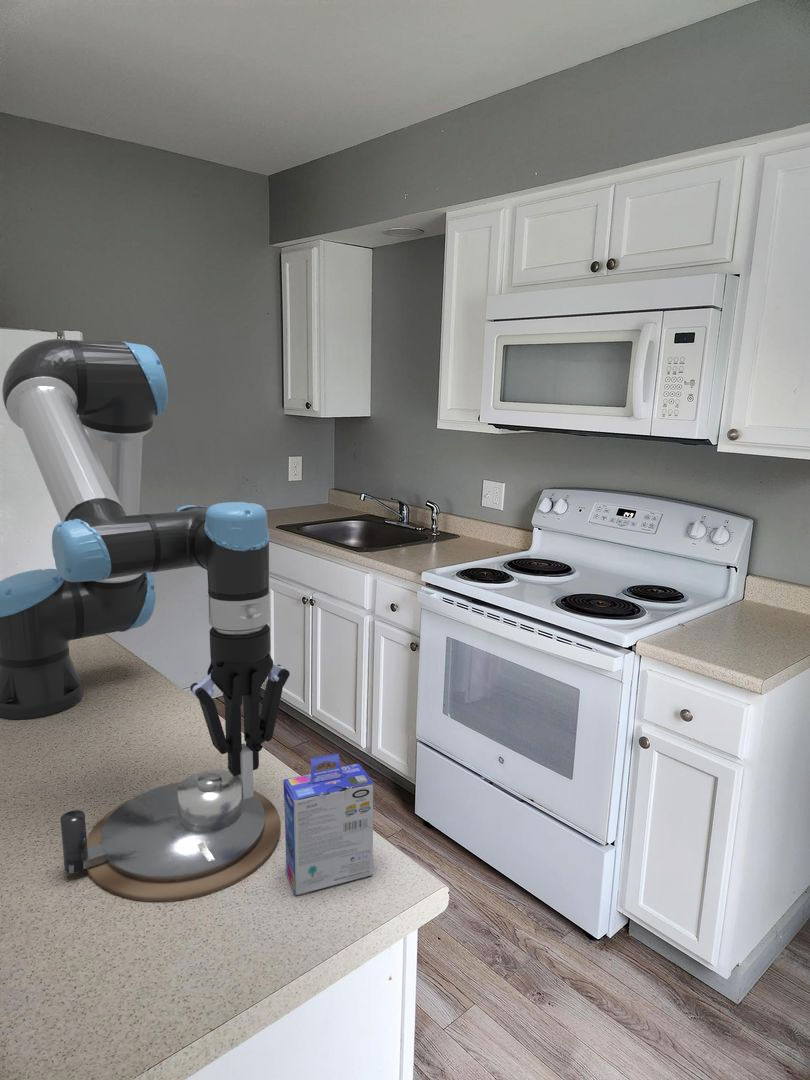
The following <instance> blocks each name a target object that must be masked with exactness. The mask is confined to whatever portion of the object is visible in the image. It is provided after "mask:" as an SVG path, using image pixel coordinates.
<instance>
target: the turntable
mask: <svg viewBox="0 0 810 1080" xmlns="http://www.w3.org/2000/svg"><path fill="white" fill-rule="evenodd" d="M181 782H182V781H180V782H173V783H169V784H164V785H162V786H161V785H160V786H157V787H156V788H155V787H154V788H152V789H149V790H146V791H144V792H142V793H140V794H138V795H136V796H133V797H132V798H130V799H128V800H129V801H128V800H126V801H127V802H126V801H125V802H126V803H124V802H123V803H124V804H123V803H122V804H123V805H121V804H120V805H121V806H120V807H119V808H118V809H117V810H115V811H114V812H113V813H112V814H111V816H110V817H109V818H108V819H107V821H106V822H105V824H104V826H103V829H102V832H101V844H99V845H95V846H92V847H89V848H87V837H88V834H87V825H86V823H87V822H86V814H85V812H84V811H83V810H80V809H73V810H71V811H67V812H65V813H62V815H61V816H60V831H61V841H62V852H63V853H62V854H63V865H64V866H63V867H64V871H65V872H66V873H69V874H76V873H80V872H83V871H84V870H86V868H89V867H92V866H95V865H98V864H101V863H104V862H107V863H108V864H109V866H110V867H111V868H113V869H114V870H116V871H117V872H119V873H121V874H123V875H125V876H127V877H130V878H133V879H137V880H142V881H150V882H177V881H184V880H191V879H195V878H199V877H203V876H206V875H209V874H212V873H215V872H218V871H220V870H222V869H225V868H227V867H228V866H230V865H232V864H234V863H236V862H237V861H239V860H240V859H242V858H243V857H244V856H246V855H247V854H248V853H249V852H250V851H251V850H252V849H253V848H254V847H255V846H256V845H257V843H258V842H259V841H260V839H261V837H262V835H263V832H264V828H265V812H264V807H263V805H262V803H261V801H260V800H259V799H258V798H257V797H256V796H255V795H254V796H253V797H250V798H247V799H244V800H243V799H242V814H241V816H240V818H239V819H238V820H237V821H236V822H235V823H234V824H232V825H230V826H229V827H227V828H224V829H221V830H218V831H213V832H195V831H191V830H188V829H186V828H184V827H183V826H182V825H181V824H180V822H179V815H178V792H177V789H178V786H179V784H180V783H181Z"/></svg>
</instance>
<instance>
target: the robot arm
mask: <svg viewBox="0 0 810 1080" xmlns="http://www.w3.org/2000/svg"><path fill="white" fill-rule="evenodd" d="M1 389H2V391H1V395H2V400H3V405H4V407H5V410H6V412H7V415H8V417H9V419H10V420H11V421H12V422H13V424H15V425H16V426H17V427H18V428H20V429H22V431H23V433H24V436H25V438H26V440H27V443H28V445H29V448H30V450H31V453H32V454H33V457H34V460H35V462H36V465H37V467H38V469H39V472H40V474H41V476H42V479H43V481H44V484H45V486H46V488H47V489H46V490H47V491H48V494H49V495H50V498H51V501H52V503H53V506H54V507H55V510H56V513H57V515H58V517H59V520H60V522H59V523H57V524H56V525H55V526H54V528H53V530H52V536H51V548H52V556H53V559H54V563H55V564H54V566H55V568H44V569H42V568H40V569H34V570H28V571H23V572H20V573H16V574H13V575H10V576H8V577H6V578H3V579H2V580H0V718H3V719H8V720H9V719H10V720H25V719H26V720H27V719H35V718H36V719H37V718H41V717H46V716H50V715H54V714H57V713H60V712H63V711H65V710H68V709H70V708H71V707H74V706H75V705H76V704H78V703H79V702H80V701H81V700H82V698H83V696H84V693H83V692H84V691H83V690H84V689H83V682H82V679H81V677H80V676H79V675H80V674H79V672H78V671H77V669H76V667H75V665H74V662H73V661H72V658H71V655H70V647H69V646H70V645H69V644H70V643H69V642H70V641H75V640H80V639H84V638H85V639H86V638H89V637H95V636H101V635H106V634H112V633H117V632H121V633H123V632H128V631H130V630H132V629H133V630H134V629H136V628H141V627H143V626H144V625H146V624H147V623H148V622H149V621H150V620H151V617H152V615H153V614H154V610H155V605H156V590H155V586H156V585H155V578H154V576H153V574H152V573H157V572H165V571H172V570H179V569H185V568H186V569H187V568H194V567H200V568H202V569H204V570H206V571H207V587H208V589H207V594H208V595H207V596H208V623H209V625H210V626H211V628H210V629H209V653H210V654H209V655H210V663H209V667H208V668H207V671H206V672H207V676H206V677H204V678H203V680H201V681H200V682H194V683H192V684H191V685H190V687H189V689H190V692H192V693H193V695H194V696H195V697H196V698H197V699H198V701H199V704H200V707H201V711H202V713H203V716H204V718H203V719H204V720H205V723H206V724H205V725H206V727H207V730H208V733H209V737H210V740H211V743H212V746H213V747H214V748H215V749H216V750H217V751H218V752H219V754H221V755H225V754H227V770H228V771H229V772H230V773H231V774H232V775H233V776H238V777H239V778H240V779H241V783H242V799H243V800H244V799H247V798H250V797H253V796H254V791H255V789H254V771H255V770H258V769H259V767H260V752H261V751H262V750H263V747H264V746H263V745H262V744H263V743H265V742H270V741H271V740H272V739H273V736H274V731H275V727H276V722H277V717H278V712H279V708H280V702H281V698H282V693H283V689H284V686H285V685H286V683H287V681H288V679H289V677H290V671H289V670H288V669H286V668H285V667H284V666H282V665H281V664H280V663H279V664H278V663H277V664H275V663H274V660H273V658H272V657H271V654H270V652H271V627H270V625H268V623H270V620H271V619H270V612H271V611H270V538H271V537H270V531H269V527H268V526H269V525H268V513H267V510H266V509H265V508H264V506H263V505H260V504H257V503H254V502H250V503H249V502H246V501H229V502H228V501H227V502H219V503H215V504H212V505H210V506H209V507H206V506H204V505H192V504H191V505H189V504H187V505H184V506H180V507H178V508H177V509H175V510H173V511H168V512H167V511H166V512H158V513H146V514H145V513H144V514H140V499H141V478H142V460H143V459H142V458H143V443H144V442H143V441H144V439H143V438H144V436H145V435H147V434H148V433H149V432H151V431H152V430H153V425H154V416H156V417H159V416H160V415H163V414H164V413H165V412H166V410H167V407H168V403H169V402H168V401H169V392H168V391H169V389H168V382H167V378H166V373H165V370H164V366H163V364H162V361H161V359H160V357H159V355H158V354H157V353H156V352H155V350H153V349H152V348H151V347H150V346H148V345H145V344H139V343H132V342H127V341H110V340H108V341H105V340H76V339H73V340H72V339H64V338H63V339H61V338H54V339H48V340H47V339H45V340H43V341H39V342H36V343H34V344H32V345H30V346H28V347H27V348H25V349H24V350H23V351H21V352H20V353H19V354H18V355H17V356H16V357H15V358H14V359H13V361H12V362H11V363H10V365H9V366H8V368H7V370H6V373H5V375H4V379H3V382H2V388H1ZM86 431H87V432H86ZM87 433H88V434H87ZM266 679H267V680H266ZM265 681H266V683H265ZM264 683H265V689H264V694H263V699H262V704H261V709H260V701H261V698H262V695H261V694H262V693H261V691H262V690H261V688H262V686H264V685H263V684H264ZM214 685H215V686H216V688H218V689H219V690H220V691H221V693H222V697H223V701H224V719H225V720H224V725H225V726H224V727H225V732H224V728H223V725H222V722H221V718H220V715H219V711H218V709H217V706H216V703H215V701H214V699H213V698H212V697H213V696H214V694H215V693H214ZM242 706H243V735H244V736H243V739H242ZM242 740H244V743H243V741H242Z"/></svg>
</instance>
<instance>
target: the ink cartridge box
mask: <svg viewBox="0 0 810 1080" xmlns="http://www.w3.org/2000/svg"><path fill="white" fill-rule="evenodd" d="M309 763H310V764H309V766H310V773H308V774H303V775H298V776H295V777H290V778H284V779H283V781H282V782H283V804H284V806H283V807H284V827H285V828H284V829H285V830H284V831H285V835H284V837H285V873H286V876H287V880H288V882H289V885H290V887H291V891H292V892H293V894H294V896H300V895H304V894H307V893H310V892H314V891H318V890H321V889H325V888H328V887H333V886H337V885H340V884H344V883H347V882H352V881H355V880H358V879H362V878H366V877H369V876H373V872H374V870H373V868H374V864H373V863H374V862H373V861H374V854H373V853H374V851H373V850H374V848H373V847H374V825H373V823H374V785H375V784H374V781H373V780H372V778H371V777H370V776H369V775H368V773H367V772H366V771H365V769H364V768H363V767H362V765H361V764H360V763H354V764H350V765H345V766H342V764H341V759H340V754H339V753H333V754H328V755H322V756H317V757H311V758H310V759H309ZM324 763H335V767H331V768H327V769H322V770H317V769H316V767H318V766H320V765H322V764H324Z"/></svg>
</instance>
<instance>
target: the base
mask: <svg viewBox="0 0 810 1080" xmlns="http://www.w3.org/2000/svg"><path fill="white" fill-rule="evenodd" d="M254 795H255V796H256V797H257V798H258V799H259V800H260V801H261V803H262V805H263V807H264V812H265V828H264V832H263V835H262V837H261V839H260V841H259V842H258V843H257V845H256V846H255V847H254V848H253V849H252V850H251V851H250V852H249V853H248V854H247V855H246V856H244V857H243V858H242V859H240V860H239V861H237V862H236V863H234V864H232V865H230V866H228V867H227V868H225V869H222V870H220V871H218V872H215V873H212V874H209V875H206V876H203V877H199V878H195V879H191V880H184V881H177V882H150V881H142V880H137V879H133V878H130V877H127V876H125V875H123V874H121V873H119V872H117V871H116V870H114V869H113V868H111V867H110V866H109V864H108V863H107V862H104V863H101V864H98V865H95V866H92V867H89V868H86V869H85V871H86V872H87V875H88V876H89V878H90V879H91V880H92V881H93V882H94V883H95V885H97V886H98V887H99V888H101V889H102V890H104V891H106V892H108V893H110V894H112V895H114V896H118V897H120V898H124V899H128V900H132V901H137V902H139V901H140V902H148V903H167V902H179V901H186V900H190V899H195V898H200V897H204V896H208V895H210V894H214V893H216V892H220V891H222V890H224V889H226V888H229V887H230V886H233V885H235V884H237V883H239V882H241V881H242V880H245V879H246V878H248V877H249V876H250V875H252V874H254V873H255V872H256V871H257V870H258V869H260V867H262V866H263V865H264V864H265V863H266V862H267V860H269V858H271V856H272V855H273V853H274V852H275V850H276V849H277V847H278V844H279V841H280V837H281V818H280V814H279V812H278V810H277V808H276V806H275V805H274V804H273V803H272V802H271V801H270V800H269V799H268V798H267V797H265V796H264V795H263V794H261V793H259V792H257V791H255V790H254ZM129 800H130V799H128V800H126V801H124V802H123V803H120V804H119V805H117V806H115V807H114V808H113V809H112V810H110V811H109V812H108V813H107V814H105V815H104V816H103V817H102V818H101V819H99V820H98V822H96V824H95V825H94V826H93V828H91V830H90V832H89V833H88V834H87V848H89V847H92V846H95V845H99V844H101V832H102V829H103V826H104V824H105V822H106V821H107V819H108V818H109V817H110V816H111V814H112V813H113V812H114V811H115V810H117V809H118V808H119V807H120V806H121V805H123V804H124V803H126V802H127V801H129Z"/></svg>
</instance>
